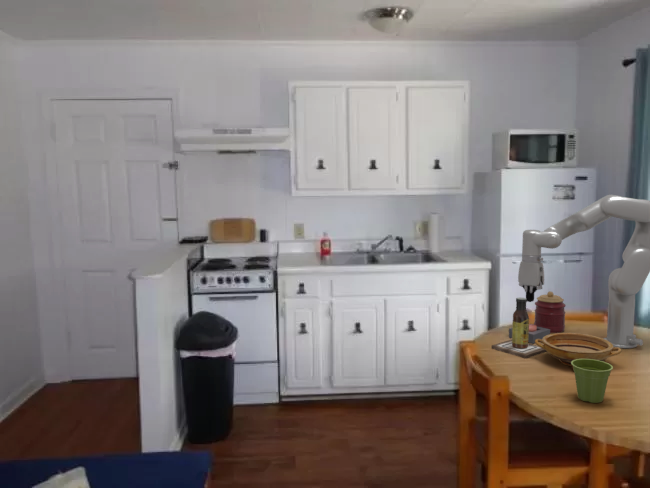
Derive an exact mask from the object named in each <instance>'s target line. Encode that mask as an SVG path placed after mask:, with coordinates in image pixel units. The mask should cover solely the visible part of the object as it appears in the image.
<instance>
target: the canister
mask: <svg viewBox="0 0 650 488" xmlns="http://www.w3.org/2000/svg"><path fill="white" fill-rule="evenodd" d="M536 300H537V301H535V302H534V305H535V308H534V323H533V324H534V325H536V326H538V327H542V328H546V329H550V334H555V333H564V332H565V328H566V325H565V322H566V311H565V307H566V303H564V301H565V300H564V298H562V296H561V295H560V296H559V295H558V294H557V295H556V294H554V292H553V291H548V292H546V294H541V295H540V296H537V297H536Z"/></svg>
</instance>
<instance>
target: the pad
mask: <svg viewBox="0 0 650 488" xmlns="http://www.w3.org/2000/svg"><path fill="white" fill-rule="evenodd" d="M491 349H492V350H495V351H500V352H503V353H506V354H510V355H513V356H517V357H519V358H523V359H529V358H531V357H532V358H533V357H534V356H537V355H540V354H544V353H546V352H547V351H546V350H545V349H543V348H541V347H539V346H538V345H536V344H532V343H528V347H527V348H515V347H513V346H512V339H509V340H506V341H503V342H499V343H496V344H492V345H491Z"/></svg>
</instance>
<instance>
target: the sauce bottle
mask: <svg viewBox="0 0 650 488" xmlns="http://www.w3.org/2000/svg"><path fill="white" fill-rule="evenodd" d="M515 302H516V305H515V306H516V307H515V311H513V314H512V327H511V328H512V338H511V340H512V346H513V347H515V348H527V347H528V336H529V324H530V317H529V314H528V311H527V299H526V297H516V298H515Z"/></svg>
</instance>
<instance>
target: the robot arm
mask: <svg viewBox="0 0 650 488" xmlns="http://www.w3.org/2000/svg"><path fill="white" fill-rule="evenodd" d="M610 218H616V219H621V220H627V221H632V222H635V226H634V230H633V233H632V235H631V236H630V239H629V241H628V242H627V245H626V247H625V249H623V250H624V251H623V253H622V257H621V258H622V260H623V264H622V266H621V267H618V268H614V269H613V270H612V271H611V272H610V274H609V276H608V281H607V282H608V283H607V284H608V305H607V306H608V307H607V329H606V337H604V338H602V339H605V340H607V341H609V342H611V343H612V344H613V348H614V347H619V348H620V349H633V348H636V347H637V346H643V344H644V341H643V339H641V338H637V335H636V334H634V327H635V326H634V325H635V310H636V309H635V307H636V294H638V292H640V291H641V289H642V287H643V285H644V283H646V280H647V278H648V276H649V274H650V200H648V199H642V198H641V199H639V198H632V197H625V196H620V195H617V194H616V195H615V194H607V195H605V196H603V197H601V198H599V199H597V200H596V201H594V202H592V203H590V204H589V205H588V206H586V207H584V208H581V209H580V210H578V211H576V212H575V213H573V214H571V215H569V216H567V217H566V218H563V219H562V220H560V221H558V222H556V223H554V224H553V225H551V226H549V227H547V228H546V229H544V231H541V230H538V229H525V230H523V233H522V245H521V247H522V248H521V251H522V252H521V261H520V263H519V267H518V274H517V276H518V277H517V278H518V280H517V281H518V285H519V287H521V288H522V289H523V290H524V292H525V298H526V299H527V302H528V303H532V302H534V301H535V293H536V292H537V291H539V290H543V286H544V285H545V270H544V264H543V262H544V258H543V257H542V248H545V249H557V248H558V247H560V246H561V245H562V242H563V240H565V239H567V238H568V237H570V236H573V235H575V234H577V233H580V232H582V233H583V232H587V231H588V230H591V229H593V228H594V227H596V226H598V225H600V224H602V223H604V222H605V221H607V220H609V219H610ZM527 302H526V303H527Z"/></svg>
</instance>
